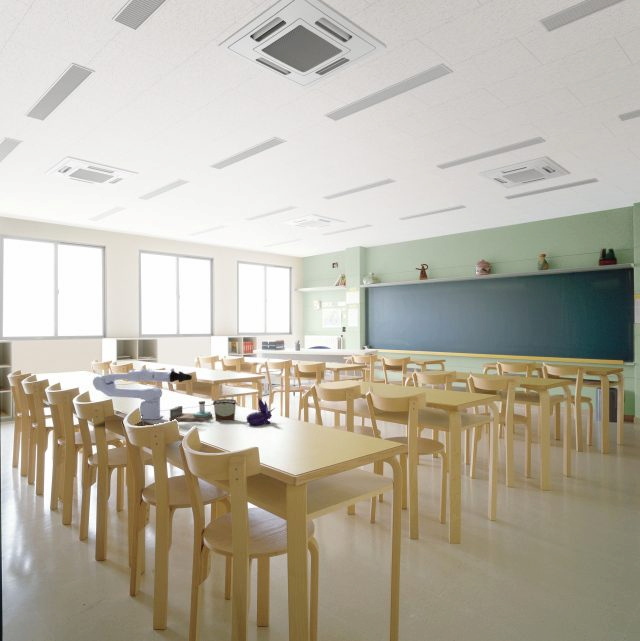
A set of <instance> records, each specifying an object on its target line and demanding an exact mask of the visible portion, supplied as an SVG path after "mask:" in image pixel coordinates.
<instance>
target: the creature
mask: <svg viewBox="0 0 640 641" xmlns="http://www.w3.org/2000/svg"><path fill="white" fill-rule="evenodd" d="M258 407H259V409H258V411H254V412H252V413H249V414H248V415H247V416H246V421H245V422H244V424H250V425H254V426H260V425H261V426H262V425H263V424H265V423H266V424H269V425H270V424H271V421H270V420H271V418H272V411H273V410H275V409H276V407H277V406H275V407H273V408H272V409H270V410H269V408H270V407H269V406H268V403H267V402H266V401H263V400H262V399H261V398H260V397H258Z"/></svg>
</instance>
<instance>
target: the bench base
mask: <svg viewBox="0 0 640 641" xmlns="http://www.w3.org/2000/svg"><path fill="white" fill-rule="evenodd" d="M193 414H196V412H195V413H190V412H186V413H183V406H182V405H178V406H175V407H174V408H173V407H172V408H170V409H169V417H168V418H169V419H168V420H174V419H176V420H178V421H177V422H195V421H199V422H200V423H201V422H202V423H203V422H206V421H207V420H209V419H211V418H213V413H211V414H210V415H208V416H206V417H194V416H193Z"/></svg>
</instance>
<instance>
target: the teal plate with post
mask: <svg viewBox="0 0 640 641" xmlns="http://www.w3.org/2000/svg"><path fill="white" fill-rule="evenodd" d="M198 405H199V411H198V412H195V414H193V416H194V417H206V416H208V415H210V414H212V413H211V411H206V410H205V408H206V406H205V405H206V401H203V400H201V401H198Z"/></svg>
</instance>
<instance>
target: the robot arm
mask: <svg viewBox="0 0 640 641" xmlns="http://www.w3.org/2000/svg"><path fill="white" fill-rule="evenodd" d="M192 376H193V375H191V374H187V373H184V372H183V371H178V372H176V371H175V368H171V370H165V369H164V370H161V369H152V368H147V369H144V368H140V369H135V368H131V369H130V370H129V371H128V372H120V373H119V372H115V373H113V372H112V373H109V374H103V375H100V376H99V375H97V376H95V377H94V378H93V380H92V385H93V387H94V389H95V390H96V391H98V392H99V391H100V392H101V393H103V394H104V395H106V396H108V397H114V398H115V397H116V398H130V399H140V400H143V401H141V402H140V405H139V414H140V413H141V416H142V419H141V420H155V421H156V420H159V419H161V418H163V417H164V415H161V397H162V395H163V391H162V388H160V387H158V386H155V387H151V388H134V387H133V388H132V387H117V386H116V383H115V382H116V381H117V380H119V381H120V380H128V381H129V382H141V381H144V382H148V381H153V382H166V383H174V382H176V381H178V383H181V382H184V381H191V380H192Z"/></svg>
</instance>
